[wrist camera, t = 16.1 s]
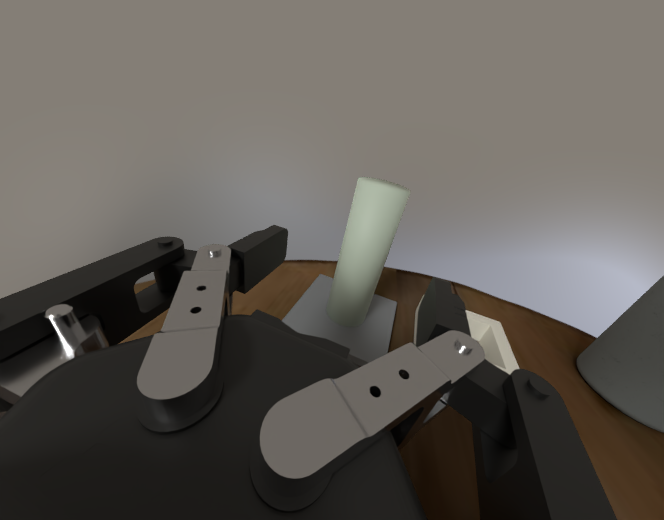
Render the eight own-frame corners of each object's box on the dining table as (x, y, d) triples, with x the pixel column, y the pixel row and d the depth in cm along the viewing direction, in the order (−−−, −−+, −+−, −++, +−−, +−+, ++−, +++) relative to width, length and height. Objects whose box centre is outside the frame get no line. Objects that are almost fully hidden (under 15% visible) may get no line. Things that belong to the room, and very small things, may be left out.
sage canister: (368, 308, 32) (412, 187, 24) (359, 333, 27) (408, 196, 20) (334, 294, 33) (364, 175, 25) (320, 316, 28) (352, 180, 21)
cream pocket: (488, 338, 33) (500, 322, 31) (510, 405, 24) (527, 388, 23) (415, 311, 35) (423, 294, 33) (412, 364, 26) (422, 346, 25)
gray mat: (394, 307, 34) (397, 302, 34) (381, 375, 24) (384, 369, 24) (319, 279, 37) (320, 273, 36) (278, 330, 27) (279, 323, 26)
